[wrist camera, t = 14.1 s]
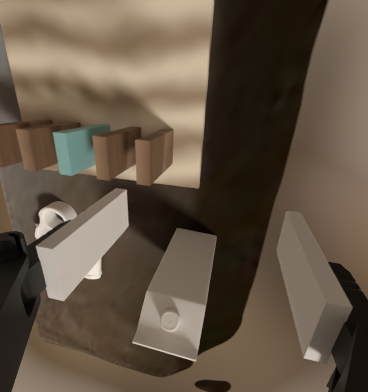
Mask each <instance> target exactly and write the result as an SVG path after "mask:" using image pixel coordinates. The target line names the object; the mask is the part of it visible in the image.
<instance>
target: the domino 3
mask: <svg viewBox="0 0 368 392" xmlns="http://www.w3.org/2000/svg"><path fill="white" fill-rule="evenodd" d="M107 132H111V131H110V125H108V124H97V125H91V126H86V127H80V128H74V129H69V130H63V131H57V132H53V136H54V142H55V148H56V154H57V159H58V165H59V171H60V174H62V175H70V176H72V175H74V174H77V173H79V172H81V171H83V170H85V169H88V168H90V167H92V166H94V165H95V155H94V146H93V137H92V136H95V135H99V134H103V133H107Z"/></svg>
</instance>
